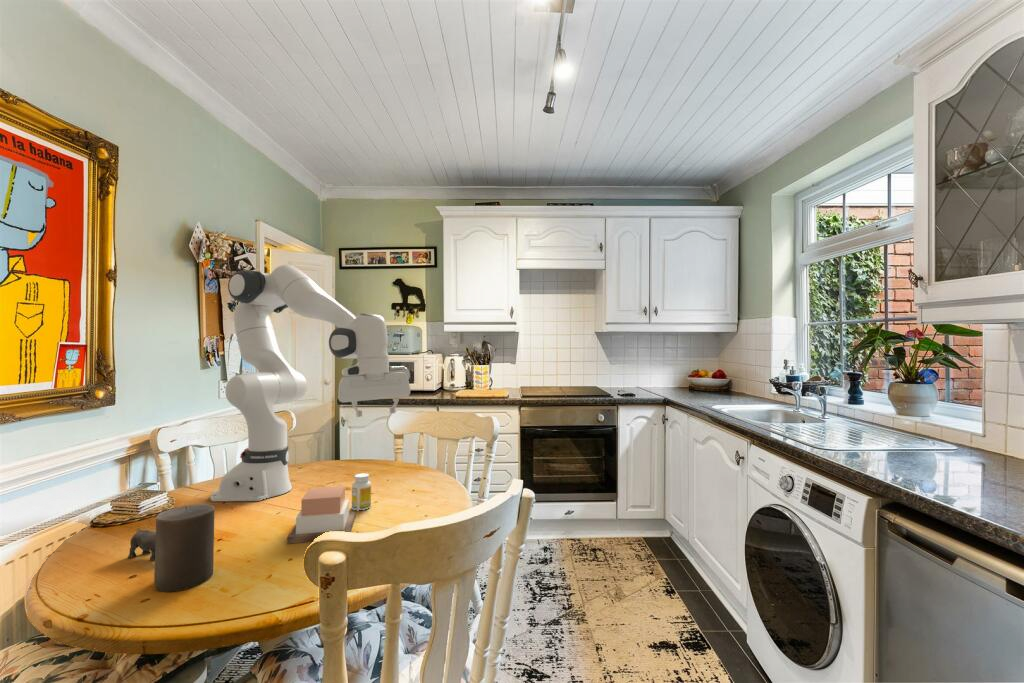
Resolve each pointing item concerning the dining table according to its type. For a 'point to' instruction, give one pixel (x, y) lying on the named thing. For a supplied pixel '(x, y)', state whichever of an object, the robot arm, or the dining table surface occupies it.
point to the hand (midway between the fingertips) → (376, 415)
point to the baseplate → (311, 536)
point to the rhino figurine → (143, 543)
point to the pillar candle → (184, 547)
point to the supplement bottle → (361, 492)
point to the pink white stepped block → (323, 510)
